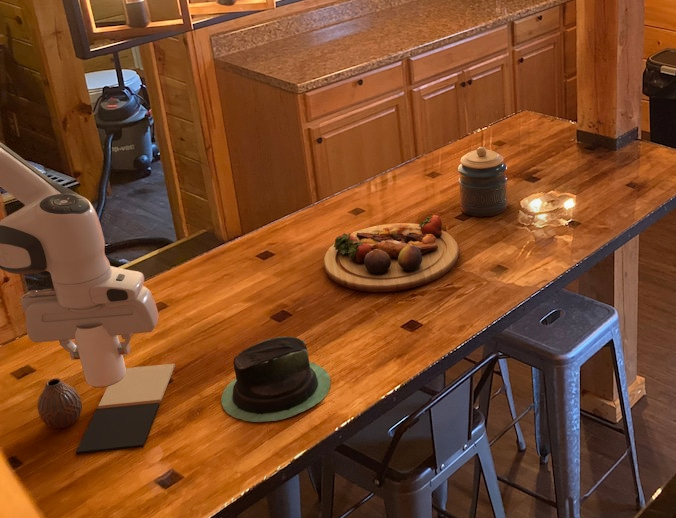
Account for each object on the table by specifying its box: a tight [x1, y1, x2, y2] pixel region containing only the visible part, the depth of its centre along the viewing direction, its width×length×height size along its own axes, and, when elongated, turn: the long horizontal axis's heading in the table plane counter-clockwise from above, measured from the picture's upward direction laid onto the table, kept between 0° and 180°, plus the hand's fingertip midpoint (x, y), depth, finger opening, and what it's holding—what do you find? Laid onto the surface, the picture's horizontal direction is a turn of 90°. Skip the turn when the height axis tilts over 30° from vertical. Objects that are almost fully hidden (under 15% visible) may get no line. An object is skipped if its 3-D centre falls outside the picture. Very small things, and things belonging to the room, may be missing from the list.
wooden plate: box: [322, 214, 460, 293], centre depth 228 cm, size 32×32×8 cm
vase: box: [37, 377, 83, 430], centre depth 172 cm, size 7×7×9 cm
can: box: [74, 324, 127, 389], centre depth 165 cm, size 6×6×12 cm
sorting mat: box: [75, 363, 176, 455], centre depth 177 cm, size 11×25×1 cm, turn 10°
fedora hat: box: [220, 336, 332, 423], centre depth 181 cm, size 15×19×20 cm
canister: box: [457, 146, 509, 218], centre depth 254 cm, size 13×13×18 cm
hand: (101, 355), depth 166 cm, fingers closed on can, 6 cm apart
